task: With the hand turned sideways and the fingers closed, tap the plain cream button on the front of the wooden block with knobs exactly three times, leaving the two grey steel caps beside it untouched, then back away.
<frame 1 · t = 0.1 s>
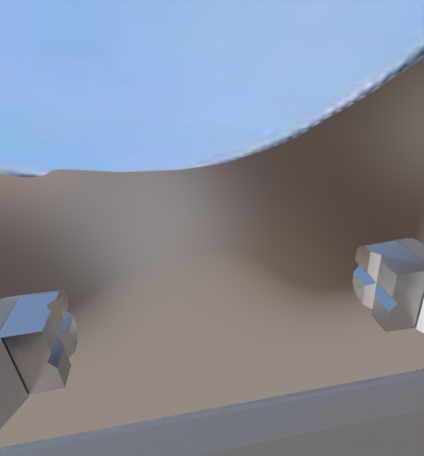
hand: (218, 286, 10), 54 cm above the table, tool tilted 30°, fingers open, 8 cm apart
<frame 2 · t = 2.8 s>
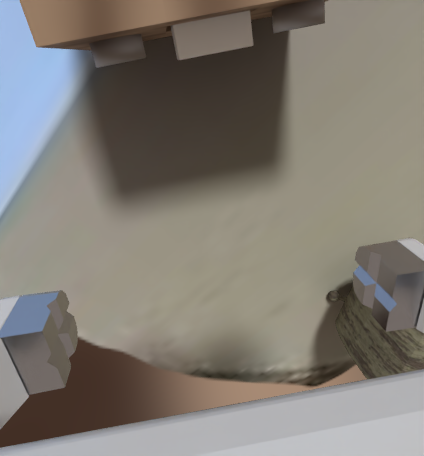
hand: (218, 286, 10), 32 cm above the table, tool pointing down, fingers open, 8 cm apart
tabletop clock: (368, 280, 53), on the table
cream button: (206, 17, 24), point 12 cm above the table, slide at 0.0 cm
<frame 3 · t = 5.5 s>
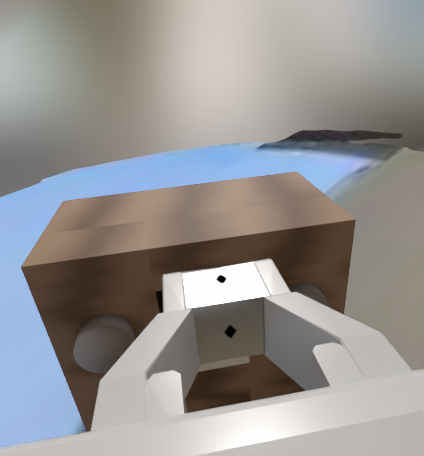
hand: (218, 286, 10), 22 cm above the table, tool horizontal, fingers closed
cream button: (204, 316, 23), point 12 cm above the table, slide at 0.0 cm
wooden block with knobs: (206, 363, 35), on the table
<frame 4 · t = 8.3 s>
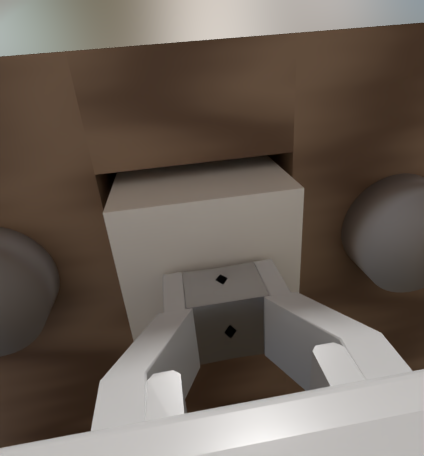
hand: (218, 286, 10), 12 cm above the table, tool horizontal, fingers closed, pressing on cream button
cream button: (203, 244, 12), point 12 cm above the table, slide at 0.1 cm, touching gripper
wooden block with knobs: (207, 352, 23), on the table
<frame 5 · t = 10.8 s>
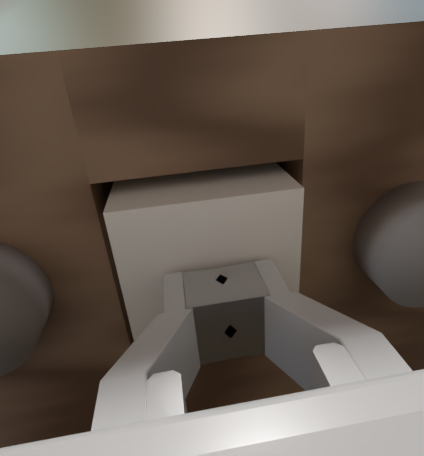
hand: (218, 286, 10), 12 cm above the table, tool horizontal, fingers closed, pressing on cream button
cream button: (203, 244, 12), point 12 cm above the table, slide at 0.9 cm, touching gripper
wooden block with knobs: (208, 360, 22), on the table
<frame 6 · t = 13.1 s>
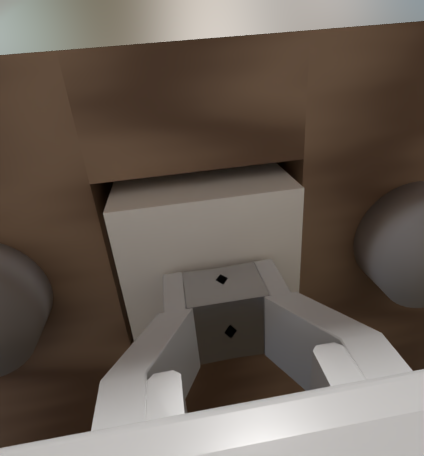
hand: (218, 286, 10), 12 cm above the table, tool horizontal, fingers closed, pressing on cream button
cream button: (203, 244, 12), point 12 cm above the table, slide at 0.9 cm, touching gripper
wooden block with knobs: (208, 360, 22), on the table
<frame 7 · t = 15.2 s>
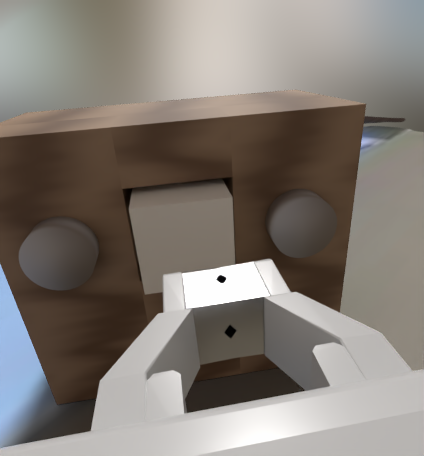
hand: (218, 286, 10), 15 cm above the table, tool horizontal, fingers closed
cream button: (183, 229, 20), point 12 cm above the table, slide at 0.1 cm
wooden block with knobs: (192, 316, 31), on the table
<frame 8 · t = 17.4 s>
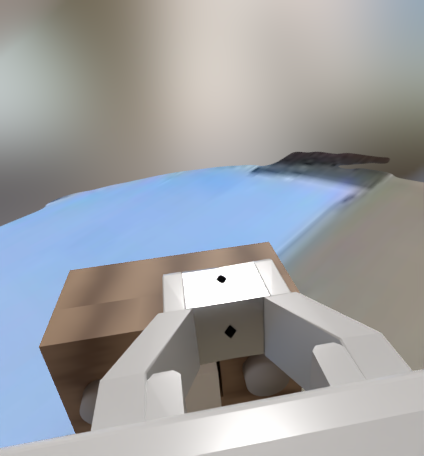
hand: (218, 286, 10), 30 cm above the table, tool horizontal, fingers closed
cream button: (186, 376, 29), point 12 cm above the table, slide at 0.1 cm
wooden block with knobs: (193, 400, 40), on the table
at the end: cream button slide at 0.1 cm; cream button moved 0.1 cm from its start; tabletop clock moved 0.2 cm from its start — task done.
